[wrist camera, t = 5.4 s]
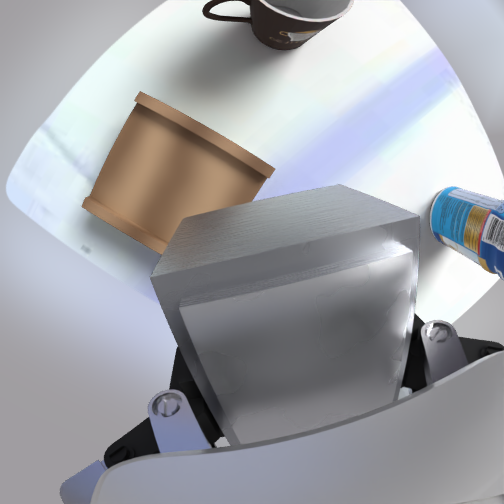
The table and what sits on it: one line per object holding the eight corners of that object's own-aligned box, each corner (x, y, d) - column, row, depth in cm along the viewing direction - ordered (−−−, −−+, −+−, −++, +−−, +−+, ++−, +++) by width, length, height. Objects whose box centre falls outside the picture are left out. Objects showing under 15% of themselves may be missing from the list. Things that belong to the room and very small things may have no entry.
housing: (340, 184, 10) (430, 220, 5) (350, 371, 14) (387, 448, 9) (183, 218, 10) (145, 286, 5) (242, 398, 14) (251, 484, 9)
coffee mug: (323, 9, 22) (356, -32, 13) (313, 67, 25) (349, 36, 15) (222, -12, 20) (222, -62, 11) (205, 46, 23) (195, 3, 14)
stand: (267, 166, 28) (275, 168, 24) (207, 259, 31) (204, 278, 27) (153, 100, 25) (140, 91, 20) (102, 197, 28) (81, 206, 23)
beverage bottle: (458, 174, 30) (575, 210, 11) (470, 224, 33) (570, 276, 14) (419, 202, 31) (545, 259, 12) (435, 254, 34) (536, 326, 15)
